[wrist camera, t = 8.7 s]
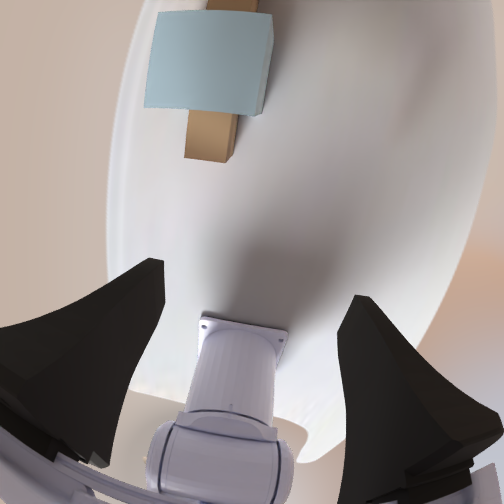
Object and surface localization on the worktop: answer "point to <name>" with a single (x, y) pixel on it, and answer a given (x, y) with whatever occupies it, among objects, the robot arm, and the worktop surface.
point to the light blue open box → (210, 61)
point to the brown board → (214, 123)
